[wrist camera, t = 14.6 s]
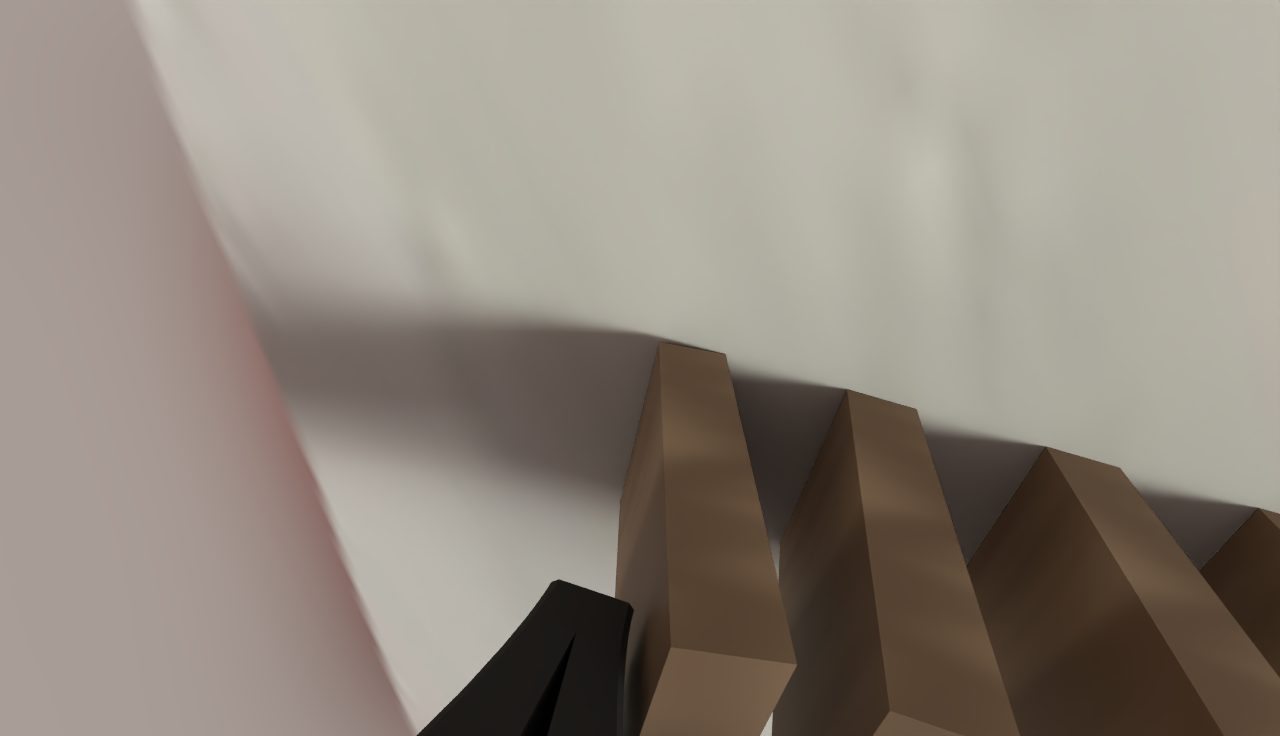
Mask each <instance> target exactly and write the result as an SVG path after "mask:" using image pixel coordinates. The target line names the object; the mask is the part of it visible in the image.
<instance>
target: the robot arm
mask: <svg viewBox="0 0 1280 736" xmlns="http://www.w3.org/2000/svg"><path fill="white" fill-rule="evenodd" d="M633 613H634V609H633V608H632V606H631V605H630V603H628V602H625V601H622V600H619V599H616V598H613V597H610V596H607V595H604V594H601V593H598V592H595V591H592V590H589V589H586V588H583V587H580V586H577V585H574V584H571V583H568V582H565V581H562V580H556V581H553V582H551V584H550V585H549V587H548V588H547V590H546V591H545V593H544V594H543V596H542V597H541V599H540V600H539V601H538V603H537V604H536V605H535V607H534V608H533V609H532V611H531V612H530V613H529V615H528V616H527V617H526V618H525V620H524V621H523V622H522V623H521V625H520V626H519V627H518V628H517V630H516V631H515V632H514V633H513V634H512V635H511V637H510V638H509V639H508V640H507V641H506V643H505V644H504V645H503V646H502V647H501V648H500V650H499V651H498V652H497V653H496V654H495V655H494V656H493V657H492V658H491V659H490V661H489V662H488V663H487V664H486V665H485V666H484V667H483V668H482V669H481V670H480V672H479V673H478V674H477V675H476V676H475V677H474V678H473V679H472V680H471V681H470V683H469V684H468V685H467V686H466V687H465V688H464V689H463V690H462V691H461V692H460V693H459V694H458V695H457V696H456V697H455V698H454V699H453V700H452V701H451V702H450V703H449V704H448V705H447V706H446V707H445V708H444V709H443V710H442V711H441V712H440V713H439V714H438V715H437V716H436V717H435V718H434V719H433V720H432V721H431V722H430V723H429V724H428V725H427V726H426V727H425V728H424V729H423V730H422V731H421V732H420V733H419V734H418V735H417V736H624V725H623V708H624V681H625V665H626V654H627V645H628V637H629V632H630V626H631V621H632V616H633Z"/></svg>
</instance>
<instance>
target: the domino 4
mask: <svg viewBox="0 0 1280 736" xmlns="http://www.w3.org/2000/svg"><path fill="white" fill-rule="evenodd" d="M1199 572H1200V574H1201V575H1202V576H1203V578H1204V579H1205V580H1206V582H1207V583H1208V584H1209V586H1210V587H1211V588H1212V590H1213V591H1214V592H1215V593H1216V595H1217V596H1218V597H1219V599H1220V600H1221V601H1222V603H1223V604H1224V605H1225V607H1226V608H1227V609H1228V611H1229V612H1230V613H1231V615H1232V616H1233V617H1234V618H1235V620H1236V621H1237V622H1238V624H1239V625H1240V626H1241V628H1242V629H1243V630H1244V632H1245V633H1246V634H1247V636H1248V637H1249V638H1250V640H1251V641H1252V642H1253V643H1254V645H1255V646H1256V647H1257V649H1258V650H1259V651H1260V653H1261V654H1262V655H1263V657H1264V658H1265V659H1266V661H1267V662H1268V663H1269V664H1270V666H1271V667H1272V668H1273V670H1274V671H1275V672H1276V674H1277V675H1278V676H1279V678H1280V514H1277V513H1274V512H1270V511H1267V510H1263V509H1260V508H1258V510H1257V511H1256V512H1255V513H1254V514H1253V515H1252V516H1251V517H1250V518H1249V519H1248V520H1247V521H1246V522H1245V523H1244V524H1243V526H1242V527H1241V528H1240V529H1239V530H1238V531H1237V532H1236V533H1235V534H1234V535H1233V536H1232V537H1231V538H1230V539H1229V541H1228V542H1227V543H1226V544H1225V545H1224V546H1223V547H1222V548H1221V549H1220V550H1219V551H1218V552H1217V553H1216V554H1215V555H1214V557H1213V558H1212V559H1211V560H1210V561H1209V562H1208V563H1207V564H1206V565H1205V566H1204V567H1203V568H1202V569H1201V570H1200V571H1199Z"/></svg>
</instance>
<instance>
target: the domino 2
mask: <svg viewBox="0 0 1280 736" xmlns="http://www.w3.org/2000/svg"><path fill="white" fill-rule="evenodd" d="M779 588H780V592H781V597H782V601H783V605H784V610H785V614H786V618H787V623H788V627H789V631H790V636H791V640H792V644H793V649H794V653H795V657H796V662H797V666H796V668H795V670H794V672H793V674H792V676H791V678H790V679H789V681H788V683H787V685H786V687H785V689H784V691H783V693H782V695H781V697H780V698H779V700H778V702H777V704H776V706H775V708H774V710H773V722H772V736H1020V734H1019V731H1018V728H1017V724H1016V721H1015V718H1014V715H1013V712H1012V709H1011V706H1010V702H1009V699H1008V696H1007V693H1006V690H1005V687H1004V684H1003V680H1002V677H1001V674H1000V671H999V668H998V665H997V661H996V658H995V655H994V652H993V649H992V646H991V643H990V639H989V636H988V633H987V630H986V627H985V624H984V621H983V617H982V614H981V611H980V608H979V605H978V602H977V598H976V595H975V592H974V589H973V586H972V583H971V580H970V576H969V573H968V570H967V567H966V564H965V561H964V557H963V554H962V551H961V548H960V545H959V542H958V539H957V535H956V532H955V529H954V526H953V523H952V520H951V517H950V513H949V510H948V507H947V504H946V501H945V498H944V494H943V491H942V488H941V485H940V482H939V479H938V476H937V472H936V469H935V466H934V463H933V460H932V457H931V454H930V450H929V447H928V444H927V441H926V438H925V435H924V431H923V428H922V425H921V422H920V419H919V416H918V413H917V409H913V408H910V407H907V406H903V405H900V404H896V403H893V402H889V401H886V400H882V399H879V398H875V397H872V396H868V395H865V394H862V393H858V392H855V391H851V390H848V389H847V391H846V393H845V396H844V398H843V400H842V402H841V405H840V407H839V409H838V412H837V414H836V416H835V419H834V421H833V423H832V425H831V428H830V430H829V432H828V435H827V437H826V439H825V441H824V444H823V446H822V448H821V451H820V453H819V455H818V458H817V460H816V462H815V464H814V467H813V469H812V471H811V474H810V476H809V478H808V480H807V483H806V485H805V487H804V490H803V492H802V494H801V497H800V499H799V501H798V503H797V506H796V508H795V510H794V513H793V515H792V517H791V519H790V522H789V524H788V526H787V529H786V531H785V533H784V536H783V538H782V540H781V542H780V561H779Z"/></svg>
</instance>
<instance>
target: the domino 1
mask: <svg viewBox="0 0 1280 736" xmlns="http://www.w3.org/2000/svg"><path fill="white" fill-rule="evenodd" d="M615 598H616V599H619V600H622V601H625V602H628V603H630V605H631V606H632V608H633V609H634V613H633V616H632V621H631V626H630V632H629V637H628V645H627V654H626V665H625V681H624V708H623V725H624V736H760V735H761V733H762V731H763V729H764V727H765V725H766V723H767V721H768V719H769V717H770V716H771V714H772V712H773V710H774V708H775V706H776V704H777V702H778V700H779V698H780V697H781V695H782V693H783V691H784V689H785V687H786V685H787V683H788V681H789V679H790V678H791V676H792V674H793V672H794V670H795V668H796V666H797V662H796V657H795V653H794V649H793V644H792V640H791V636H790V631H789V627H788V623H787V618H786V614H785V610H784V605H783V601H782V597H781V592H780V588H779V584H778V579H777V575H776V571H775V566H774V562H773V558H772V553H771V549H770V545H769V540H768V536H767V532H766V527H765V523H764V519H763V514H762V510H761V506H760V501H759V497H758V493H757V488H756V484H755V480H754V475H753V471H752V467H751V462H750V458H749V454H748V449H747V445H746V441H745V436H744V432H743V428H742V423H741V419H740V415H739V410H738V406H737V402H736V397H735V393H734V389H733V384H732V380H731V376H730V371H729V367H728V363H727V358H726V354H721V353H716V352H710V351H705V350H700V349H694V348H689V347H683V346H678V345H672V344H667V343H662V342H659V345H658V349H657V353H656V357H655V361H654V366H653V370H652V374H651V378H650V382H649V386H648V390H647V394H646V398H645V402H644V406H643V410H642V414H641V419H640V423H639V427H638V431H637V435H636V439H635V443H634V447H633V451H632V455H631V459H630V463H629V468H628V472H627V476H626V480H625V484H624V488H623V492H622V496H621V500H620V515H619V533H618V552H617V570H616V589H615Z"/></svg>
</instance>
